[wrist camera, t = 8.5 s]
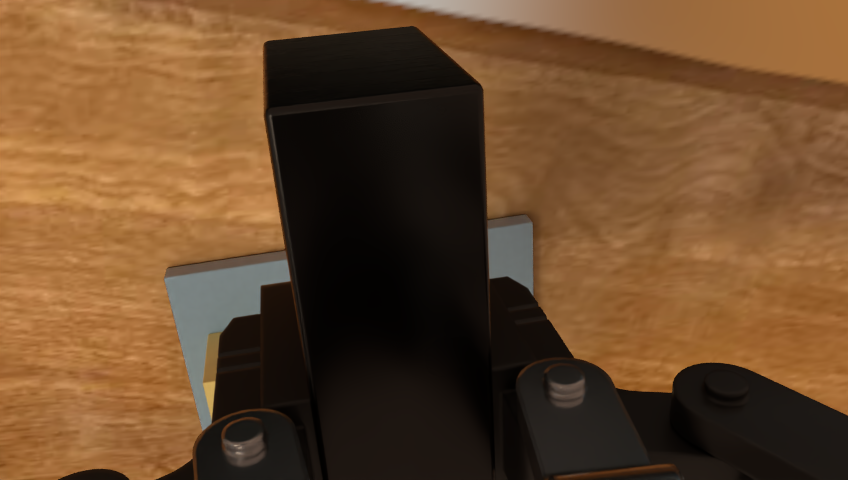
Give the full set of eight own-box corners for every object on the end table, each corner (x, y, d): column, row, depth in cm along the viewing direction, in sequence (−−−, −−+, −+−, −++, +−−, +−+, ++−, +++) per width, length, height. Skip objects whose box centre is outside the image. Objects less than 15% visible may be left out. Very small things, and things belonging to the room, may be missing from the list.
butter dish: (165, 267, 26) (163, 278, 25) (526, 213, 28) (533, 222, 27) (210, 447, 30) (209, 461, 29) (528, 388, 32) (534, 400, 31)
